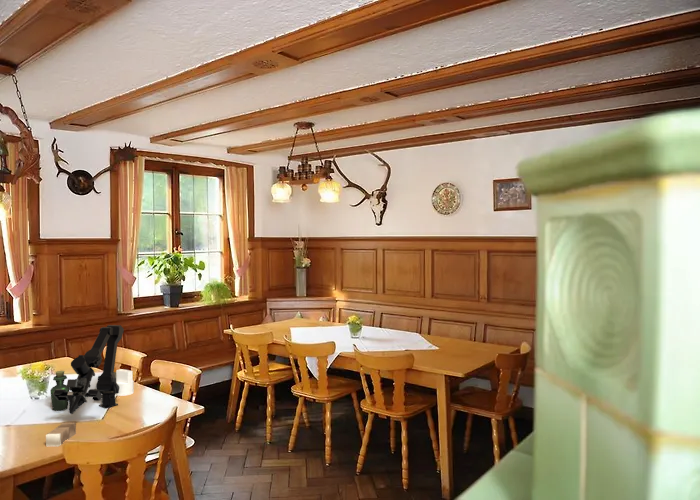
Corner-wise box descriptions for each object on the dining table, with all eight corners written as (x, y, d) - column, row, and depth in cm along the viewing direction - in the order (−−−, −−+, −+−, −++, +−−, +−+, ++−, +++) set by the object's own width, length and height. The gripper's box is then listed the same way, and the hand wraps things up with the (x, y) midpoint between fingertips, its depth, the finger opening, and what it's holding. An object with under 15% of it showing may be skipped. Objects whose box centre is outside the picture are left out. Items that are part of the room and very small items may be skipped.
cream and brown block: (63, 422, 215) (45, 435, 202) (75, 422, 215) (58, 435, 202) (64, 433, 215) (46, 447, 202) (76, 433, 215) (58, 447, 202)
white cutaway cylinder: (137, 392, 273) (137, 369, 272) (123, 396, 264) (123, 373, 264) (125, 389, 276) (125, 367, 276) (111, 394, 268) (111, 371, 268)
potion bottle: (53, 407, 248) (52, 370, 247) (71, 405, 250) (71, 369, 250) (48, 412, 240) (47, 374, 239) (67, 411, 242) (67, 373, 242)
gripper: (55, 370, 220) (40, 404, 209) (98, 370, 220) (86, 404, 209) (65, 383, 228) (51, 416, 217) (107, 383, 228) (95, 417, 218)
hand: (70, 413), depth 215 cm, fingers closed
